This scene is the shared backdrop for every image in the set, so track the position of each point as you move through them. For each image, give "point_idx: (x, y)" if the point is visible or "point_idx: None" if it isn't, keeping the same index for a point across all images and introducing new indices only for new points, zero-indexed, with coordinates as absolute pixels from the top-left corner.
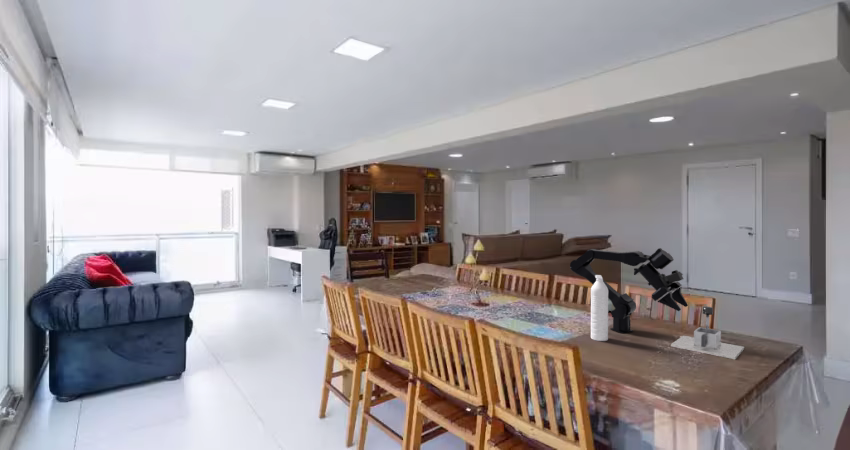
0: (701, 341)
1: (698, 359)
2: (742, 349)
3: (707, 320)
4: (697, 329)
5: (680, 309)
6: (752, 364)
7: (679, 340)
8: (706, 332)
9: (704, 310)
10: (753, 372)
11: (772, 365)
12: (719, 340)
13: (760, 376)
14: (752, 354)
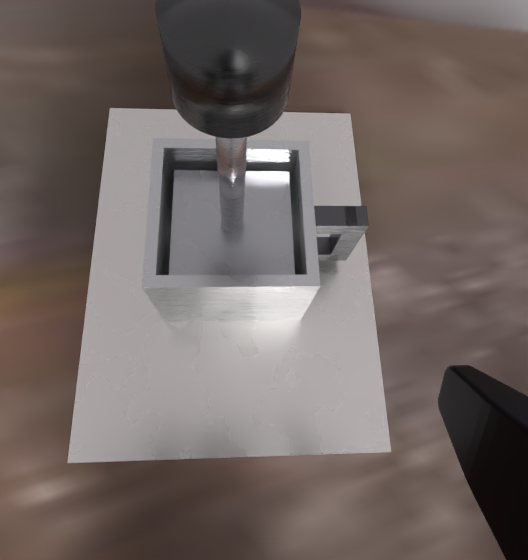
0: (355, 244)
1: (500, 246)
2: (160, 112)
3: (246, 144)
4: (241, 278)
5: (467, 367)
6: (360, 64)
7: (246, 436)
8: (243, 217)
9: (287, 72)
10: (467, 52)
11: (308, 13)
12: None
13: (493, 31)
14: None
